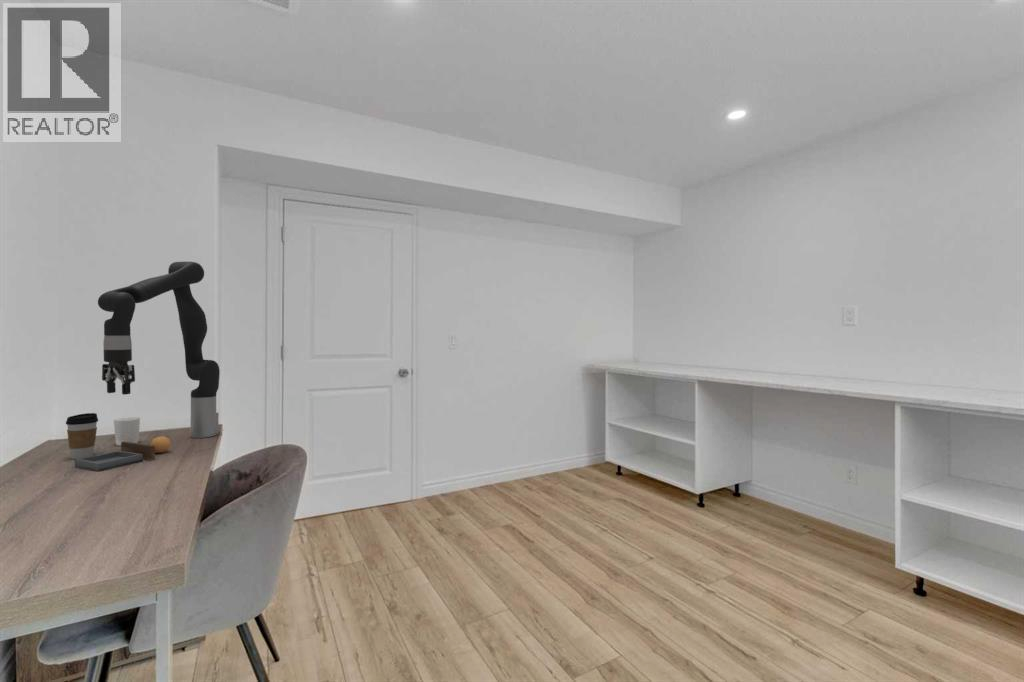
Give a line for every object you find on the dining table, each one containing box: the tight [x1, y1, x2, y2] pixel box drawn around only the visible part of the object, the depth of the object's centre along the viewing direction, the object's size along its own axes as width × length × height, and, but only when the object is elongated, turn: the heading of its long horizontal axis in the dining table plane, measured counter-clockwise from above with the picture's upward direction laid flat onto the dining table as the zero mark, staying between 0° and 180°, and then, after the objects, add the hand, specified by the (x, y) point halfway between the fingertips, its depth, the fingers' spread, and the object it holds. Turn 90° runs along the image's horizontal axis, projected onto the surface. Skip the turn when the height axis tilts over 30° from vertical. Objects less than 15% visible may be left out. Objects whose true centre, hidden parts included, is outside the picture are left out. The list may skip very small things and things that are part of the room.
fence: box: [120, 441, 156, 461], centre depth 159 cm, size 1×16×5 cm, turn 71°
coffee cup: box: [65, 412, 99, 460], centre depth 159 cm, size 8×8×15 cm
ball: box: [149, 436, 171, 454], centre depth 166 cm, size 6×6×6 cm
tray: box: [74, 450, 143, 472], centre depth 151 cm, size 13×13×2 cm
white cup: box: [113, 416, 141, 447], centre depth 178 cm, size 8×8×10 cm
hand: (118, 393), depth 159 cm, fingers open, 8 cm apart
